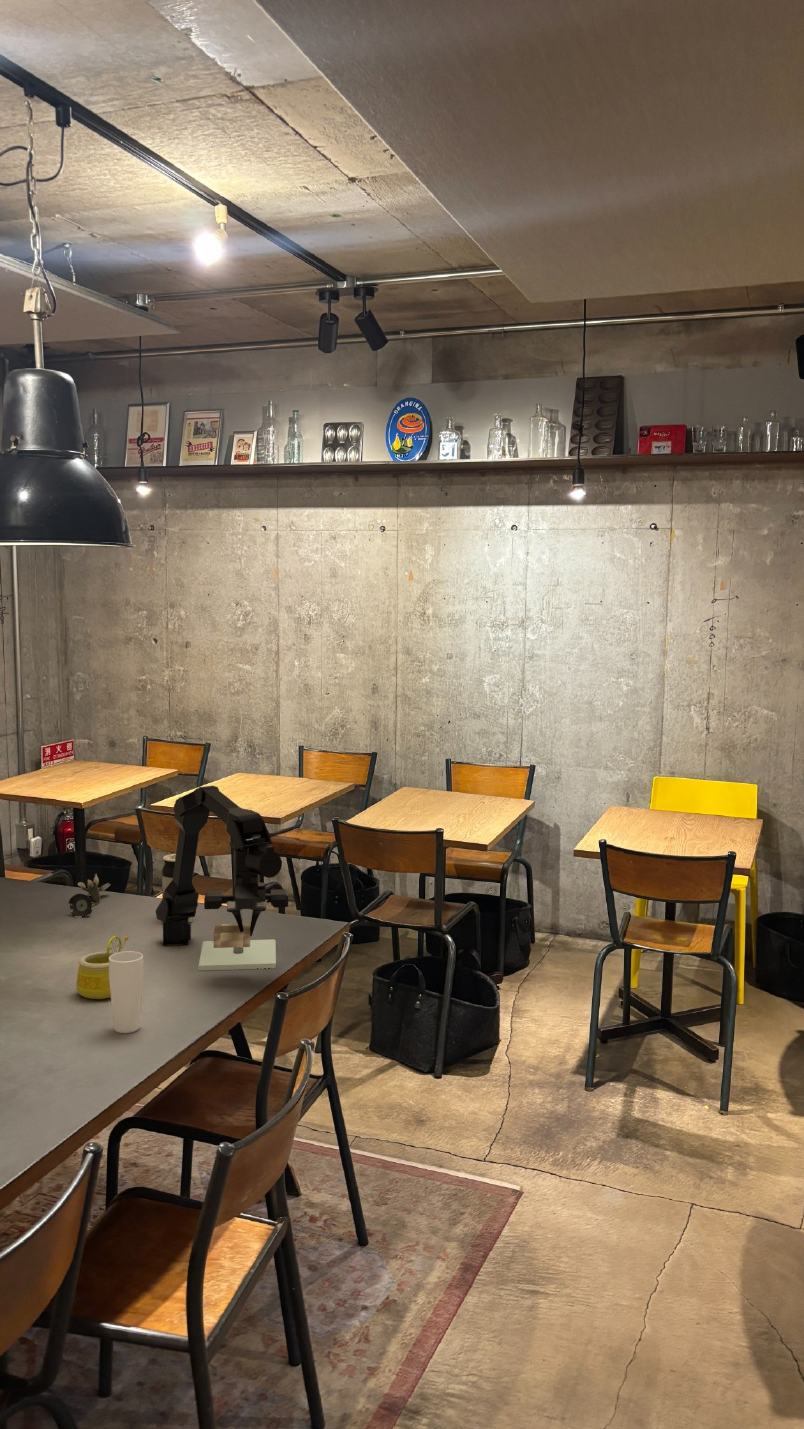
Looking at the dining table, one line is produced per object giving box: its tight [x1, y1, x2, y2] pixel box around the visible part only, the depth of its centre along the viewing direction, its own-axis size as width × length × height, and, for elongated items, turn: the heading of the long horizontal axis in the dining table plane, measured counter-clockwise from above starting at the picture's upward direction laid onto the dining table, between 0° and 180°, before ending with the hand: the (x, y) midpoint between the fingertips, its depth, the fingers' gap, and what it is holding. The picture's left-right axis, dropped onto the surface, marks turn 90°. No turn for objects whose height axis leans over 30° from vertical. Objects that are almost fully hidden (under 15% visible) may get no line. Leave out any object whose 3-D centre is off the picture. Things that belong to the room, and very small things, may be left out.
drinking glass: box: [109, 950, 145, 1034], centre depth 206 cm, size 7×7×15 cm
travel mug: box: [161, 853, 194, 923], centre depth 278 cm, size 8×8×18 cm
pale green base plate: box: [197, 939, 277, 971], centre depth 251 cm, size 18×18×5 cm
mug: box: [76, 935, 129, 1000], centre depth 226 cm, size 13×11×12 cm
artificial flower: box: [68, 873, 111, 918], centre depth 292 cm, size 9×22×10 cm, turn 179°
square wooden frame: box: [213, 922, 251, 948], centre depth 234 cm, size 8×8×3 cm
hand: (246, 936), depth 234 cm, fingers closed on square wooden frame
